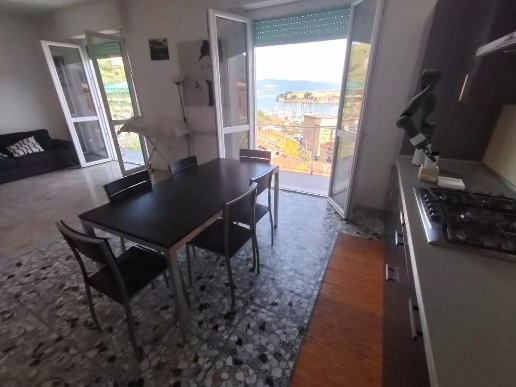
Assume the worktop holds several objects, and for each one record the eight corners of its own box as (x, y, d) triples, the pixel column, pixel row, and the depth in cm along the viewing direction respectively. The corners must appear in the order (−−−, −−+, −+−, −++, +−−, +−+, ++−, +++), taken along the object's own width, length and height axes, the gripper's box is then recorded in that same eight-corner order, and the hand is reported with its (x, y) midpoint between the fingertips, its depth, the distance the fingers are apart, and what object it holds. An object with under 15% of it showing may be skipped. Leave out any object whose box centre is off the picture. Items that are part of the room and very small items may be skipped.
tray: (436, 179, 158) (437, 176, 157) (459, 182, 152) (461, 179, 151) (438, 186, 147) (439, 182, 146) (463, 190, 141) (465, 186, 140)
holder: (417, 174, 167) (421, 164, 163) (434, 177, 162) (437, 166, 159) (418, 179, 158) (421, 168, 155) (435, 182, 154) (439, 170, 151)
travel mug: (431, 180, 156) (441, 151, 148) (420, 178, 160) (429, 150, 151) (432, 177, 161) (441, 149, 152) (421, 176, 164) (429, 148, 156)
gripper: (425, 139, 147) (442, 159, 146) (424, 135, 158) (439, 154, 157) (413, 146, 151) (429, 166, 151) (413, 142, 163) (427, 160, 162)
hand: (434, 160), depth 154 cm, fingers open, 8 cm apart
